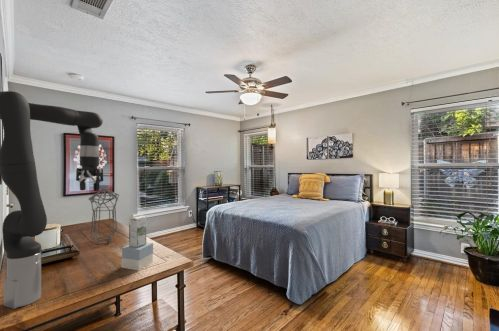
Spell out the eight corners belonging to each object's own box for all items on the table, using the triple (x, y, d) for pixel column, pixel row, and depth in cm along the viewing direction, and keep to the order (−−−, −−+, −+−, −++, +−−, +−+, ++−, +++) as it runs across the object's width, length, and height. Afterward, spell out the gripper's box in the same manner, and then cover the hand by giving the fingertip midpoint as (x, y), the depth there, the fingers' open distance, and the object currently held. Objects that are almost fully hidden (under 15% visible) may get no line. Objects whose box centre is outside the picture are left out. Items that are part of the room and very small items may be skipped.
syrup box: (138, 242, 124) (138, 214, 124) (146, 244, 122) (146, 215, 121) (129, 246, 119) (128, 217, 119) (137, 247, 116) (136, 218, 116)
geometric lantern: (119, 237, 165) (120, 186, 164) (115, 245, 150) (116, 189, 149) (92, 239, 159) (93, 187, 158) (85, 247, 144) (86, 190, 143)
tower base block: (138, 270, 114) (138, 260, 114) (121, 268, 117) (121, 257, 117) (152, 262, 124) (152, 252, 124) (136, 260, 126) (136, 250, 126)
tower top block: (139, 260, 114) (139, 249, 114) (122, 258, 117) (122, 247, 117) (153, 252, 124) (153, 243, 124) (136, 250, 126) (136, 241, 126)
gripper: (70, 155, 110) (70, 190, 110) (93, 155, 106) (93, 192, 106) (86, 156, 117) (86, 189, 117) (108, 156, 113) (108, 190, 113)
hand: (89, 190), depth 112 cm, fingers open, 8 cm apart
